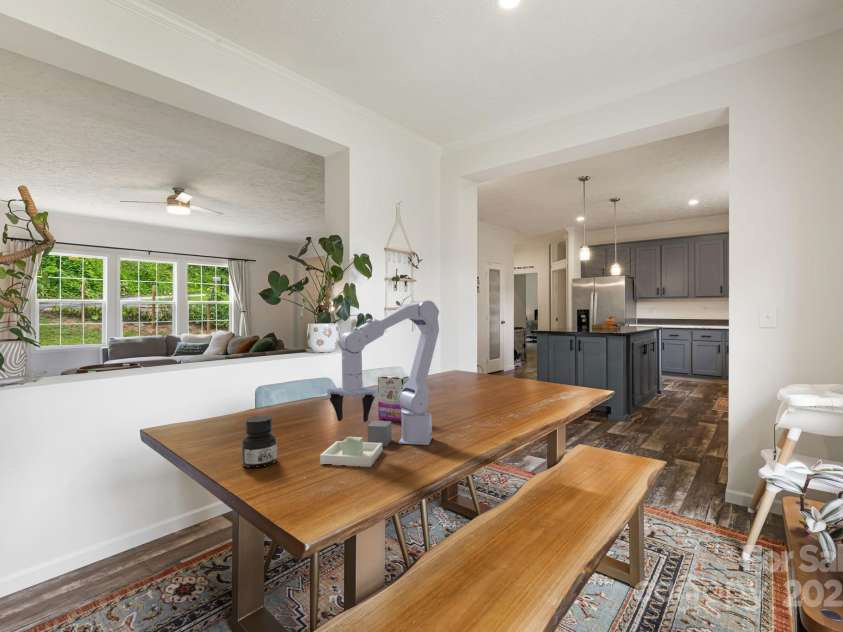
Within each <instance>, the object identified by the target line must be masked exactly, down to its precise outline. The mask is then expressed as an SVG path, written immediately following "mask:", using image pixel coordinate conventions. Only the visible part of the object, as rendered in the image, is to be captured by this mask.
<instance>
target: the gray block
mask: <svg viewBox="0 0 843 632" xmlns="http://www.w3.org/2000/svg"><path fill="white" fill-rule="evenodd" d="M392 422H393V421H388V420H373V421H371V422H370V423H369V424H368V425H367V442H370V443H383V447H388V445H389V444H390V443H391V442H392V439H393V438H392V437H393V436H392V434H393V433H392V427H393V426H392V424H393V423H392ZM390 441H391V442H390Z"/></svg>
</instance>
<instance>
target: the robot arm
mask: <svg viewBox="0 0 843 632" xmlns="http://www.w3.org/2000/svg"><path fill="white" fill-rule="evenodd" d="M439 314H440V311H439V308H438V306H437V305H436V303H435V302H433V301H432V300H428V299H427V300H420V301H415V300H412V301H410V302H409V303H406V304H403V305H402V306H400V307H398V308H397V309H395V310H394V311H391V312H390V313H389V314H387V315H385V316H384V317H382V318H380V319H376V318H367V319H366V320H365V323H364V324H361V325H359V326H354V327H353V328H352V331H345V332H344V333H342V334H341V336H340V337H339V341H337V344H338V347H339V348H340V350H341V384H342V386H341V387H329V388H327V390H326V394H327V396H328V397H329V401H330V403H331V405H332V408H333V409H334V411H335V415H336V419H337V422H341V421H342V420H343V416H344V415H343V413H344V412H343V403H344V396H347V397H348V396H351V397H358V396H359V397H362V398H361V401H362V409H363V410H362V411H363V414H362V415H363V422H364V423H367V422H368V421H369V416H370V415H369V414H370V411H371V408H372V405H373V402H374V401H375V398H377V397H378V388H371V387H363V357H362V356H363V355H362V353H363V351H364V349H365V347H366V346H368V345H369V344H371V343H373V342H374V341H376V340H377V339H380V338H381V337H383V336H384V334H385V332H386V330H387V329H389V328H391V327H393V326H395V325H397V324H398V323H401V322H402V321H405V320H407V319H408V320H410V321H411V322H412V323H413V324H415V325H416V326H417V328H418V330H419V331H420V336H419V339H418V344H417V347H416V351H415V355H414V359H413V364H412V368H411V371H410V374H409V380H408V381H407V382H406V383H405V384H404V386H403V389H402V391H401V392H400V393H399V395H398V404H399V406H400V407H401V411H402V422H401V438H400V439H399V440H398V442H397V443H398V444H401V445H402V444H403V445H420V446H421V445H422V446H428V445H429V446H430V443H431V442H432V438H433V422H432V421H433V418H432V417H433V416H432V413H430V412H426V411H427V410H428V408H429V403H430V402H429V394H430V390H429V388H428V386H427V381H428V377H429V372H430V368H431V364H432V362H433V361H432V360H433V357H434V352H435V348H436V344H437V340H438V338H439V337H438V335H439V333H440V326H439Z"/></svg>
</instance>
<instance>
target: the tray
mask: <svg viewBox="0 0 843 632" xmlns="http://www.w3.org/2000/svg"><path fill="white" fill-rule="evenodd" d="M342 441H343V440H342ZM342 441H341V440H336V441H334V443H332V444H331V445H330V446H329V447H328V448H327V449H326V450H324V451H323V452H322V453H321V454H320V455H319V462H320V463H319V465H323V464H332V465H331V466H341V465H346V466H345V467H359V466H360V467H363V468H371V467H372V466H373V465H374V464H375V462H376V461H377V460H378V458H379V457H380V456H381V455H382V453H383V452H384V451H383V450H384V449H383V447H384V446H383V443H370V442H368V441H367V442H366V441H363V454H362V455H361V456H351V455H342Z"/></svg>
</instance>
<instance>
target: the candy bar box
mask: <svg viewBox="0 0 843 632" xmlns="http://www.w3.org/2000/svg"><path fill="white" fill-rule="evenodd" d="M409 378H410V375H409V376H407V375H392V374H383V375H379V376H377V389H378V395H377V400H378V402H377V403H378V405H377V406H378V409H377V411H378V412H377V413H378V414H377V415H378V420H380V421H392V422H396V423H402V411H401V407H400V406H399V404H398V395H399V393H400V392H401V391H402V389H403V386H404V384H405V383H406V382H407V381H408V380H409Z"/></svg>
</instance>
